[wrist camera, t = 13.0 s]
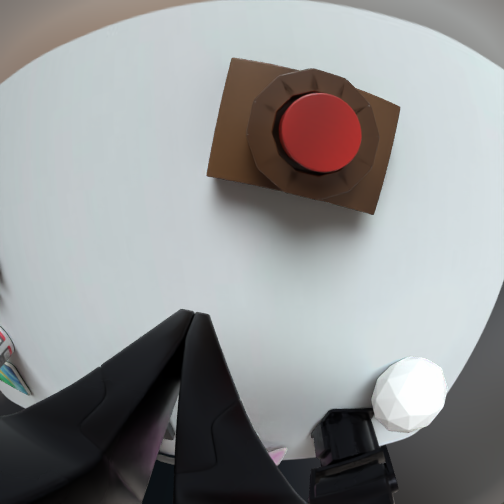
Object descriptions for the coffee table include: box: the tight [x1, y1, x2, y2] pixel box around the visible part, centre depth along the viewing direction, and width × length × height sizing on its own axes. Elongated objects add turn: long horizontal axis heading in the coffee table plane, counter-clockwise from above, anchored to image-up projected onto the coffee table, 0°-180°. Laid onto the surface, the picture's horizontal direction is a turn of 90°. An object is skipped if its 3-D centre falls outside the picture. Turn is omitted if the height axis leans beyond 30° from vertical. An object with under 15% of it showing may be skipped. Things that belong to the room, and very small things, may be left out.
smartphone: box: [0, 362, 31, 395], centre depth 28 cm, size 7×1×15 cm
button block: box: [207, 58, 400, 215], centre depth 14 cm, size 10×7×4 cm
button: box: [279, 93, 362, 172], centre depth 11 cm, size 4×4×2 cm
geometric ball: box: [371, 356, 448, 433], centre depth 20 cm, size 8×8×8 cm
